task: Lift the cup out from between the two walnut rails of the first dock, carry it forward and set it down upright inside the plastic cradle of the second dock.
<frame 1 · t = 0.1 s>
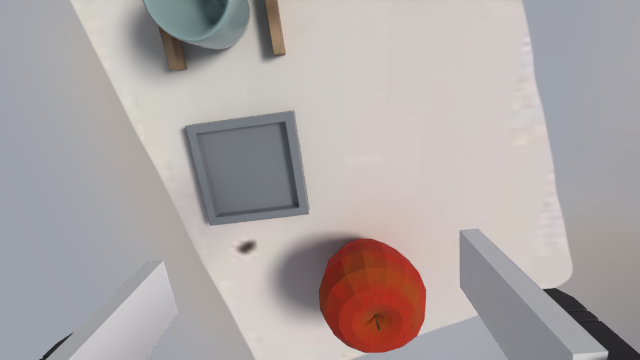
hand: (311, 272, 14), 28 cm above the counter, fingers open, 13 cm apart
cup: (223, 17, 37), on the counter
dock b cradle: (252, 167, 42), on the counter
dock a rails: (222, 16, 37), on the counter
apple: (363, 258, 45), on the counter
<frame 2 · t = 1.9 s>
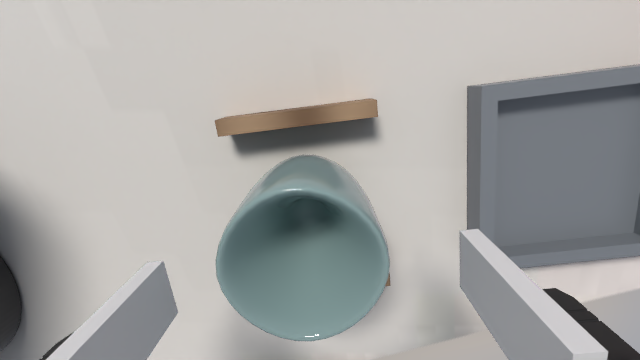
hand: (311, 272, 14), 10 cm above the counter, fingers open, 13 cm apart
cup: (310, 195, 24), on the counter
dock b cradle: (558, 168, 23), on the counter
dock a rails: (310, 196, 24), on the counter
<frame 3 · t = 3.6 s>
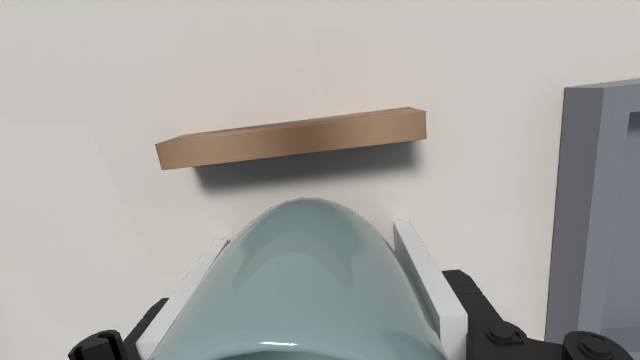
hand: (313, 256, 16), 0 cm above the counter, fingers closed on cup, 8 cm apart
cup: (313, 251, 16), on the counter, touching gripper
dock a rails: (313, 253, 16), on the counter
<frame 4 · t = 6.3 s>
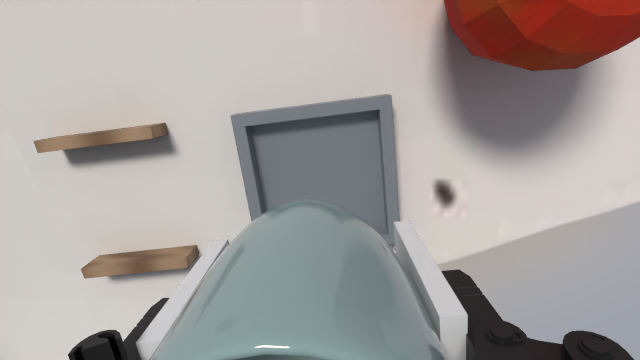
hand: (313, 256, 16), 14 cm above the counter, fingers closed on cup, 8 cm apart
cup: (313, 252, 16), point 14 cm above the counter, touching gripper
dock b cradle: (320, 176, 29), on the counter
dock a rails: (131, 198, 30), on the counter
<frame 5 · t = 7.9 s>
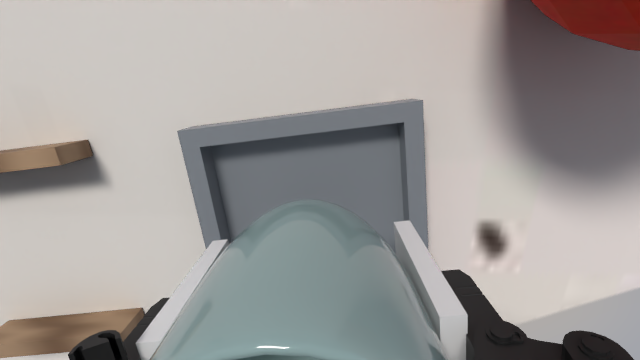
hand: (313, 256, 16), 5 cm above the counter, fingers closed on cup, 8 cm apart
cup: (313, 252, 16), point 5 cm above the counter, touching gripper
dock b cradle: (314, 216, 21), on the counter
dock a rails: (47, 245, 21), on the counter
when the fingers open (3 cm above the counter, at t = 9.2 s): cup drops 2 cm, resting on dock b cradle.
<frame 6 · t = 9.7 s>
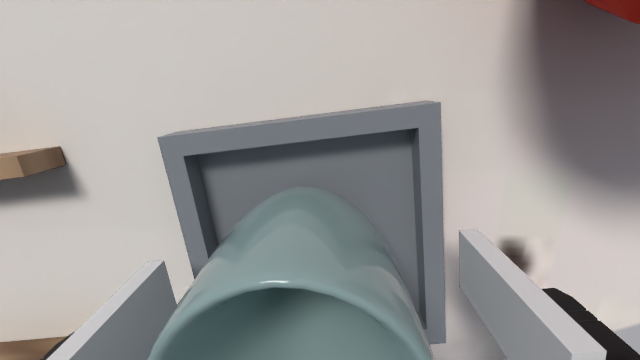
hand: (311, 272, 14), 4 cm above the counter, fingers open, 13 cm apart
cup: (309, 235, 18), resting on dock b cradle
dock b cradle: (315, 232, 18), on the counter
dock a rails: (18, 262, 19), on the counter
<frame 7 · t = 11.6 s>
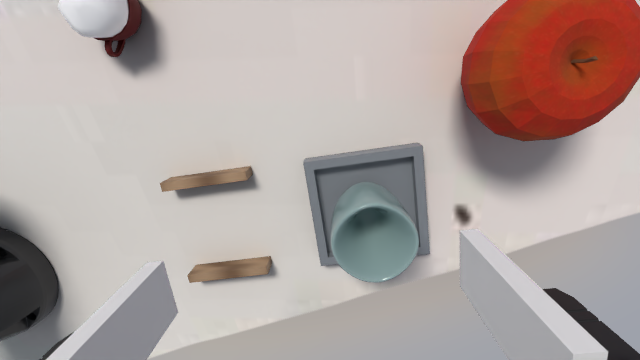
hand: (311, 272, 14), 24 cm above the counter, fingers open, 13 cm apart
cup: (364, 205, 38), resting on dock b cradle
dock b cradle: (366, 203, 39), on the counter
cocoa: (123, 10, 34), on the counter
dock a rails: (222, 221, 40), on the counter
apple: (494, 70, 34), on the counter
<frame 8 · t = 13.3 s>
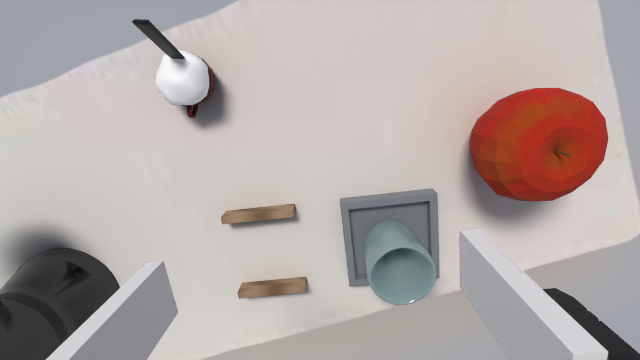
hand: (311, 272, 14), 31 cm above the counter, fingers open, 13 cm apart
cup: (387, 237, 47), resting on dock b cradle
dock b cradle: (388, 235, 47), on the counter
cocoa: (198, 78, 42), on the counter
dock a rails: (267, 247, 48), on the counter
apple: (495, 134, 43), on the counter
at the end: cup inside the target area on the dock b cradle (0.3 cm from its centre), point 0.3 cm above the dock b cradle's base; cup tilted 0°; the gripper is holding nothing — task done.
